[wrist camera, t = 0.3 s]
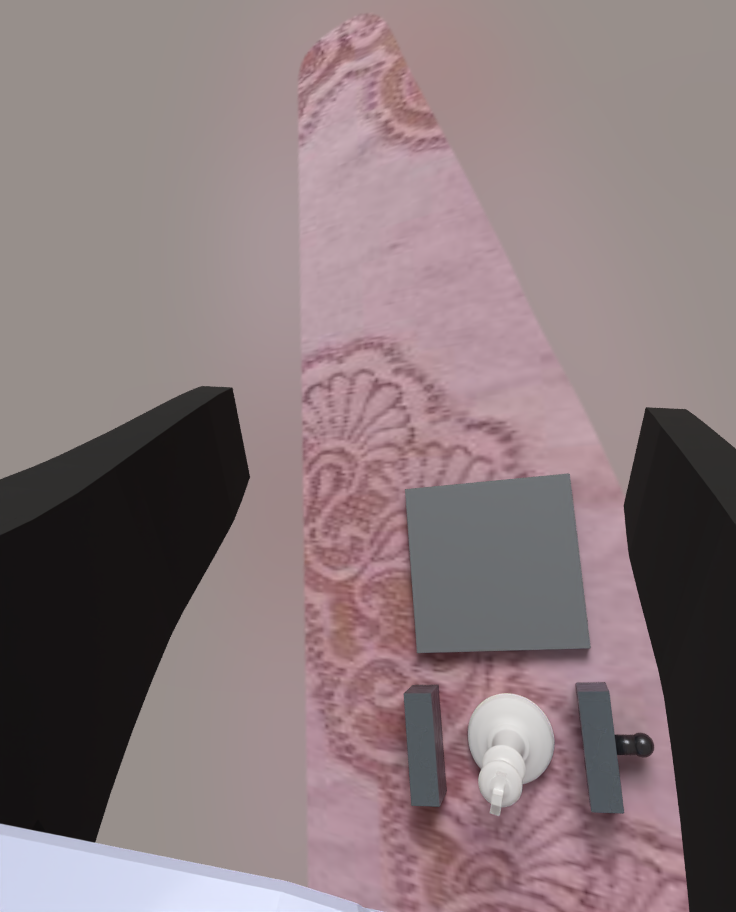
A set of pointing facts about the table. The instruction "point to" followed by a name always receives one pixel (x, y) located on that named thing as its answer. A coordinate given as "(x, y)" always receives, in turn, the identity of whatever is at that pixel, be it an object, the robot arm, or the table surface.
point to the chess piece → (509, 746)
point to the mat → (496, 566)
